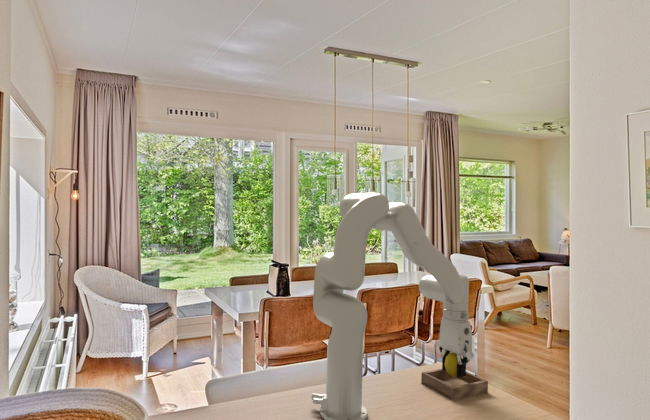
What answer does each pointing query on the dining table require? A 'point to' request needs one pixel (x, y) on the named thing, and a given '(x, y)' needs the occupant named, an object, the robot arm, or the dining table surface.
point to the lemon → (451, 364)
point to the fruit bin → (454, 384)
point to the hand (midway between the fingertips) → (453, 372)
